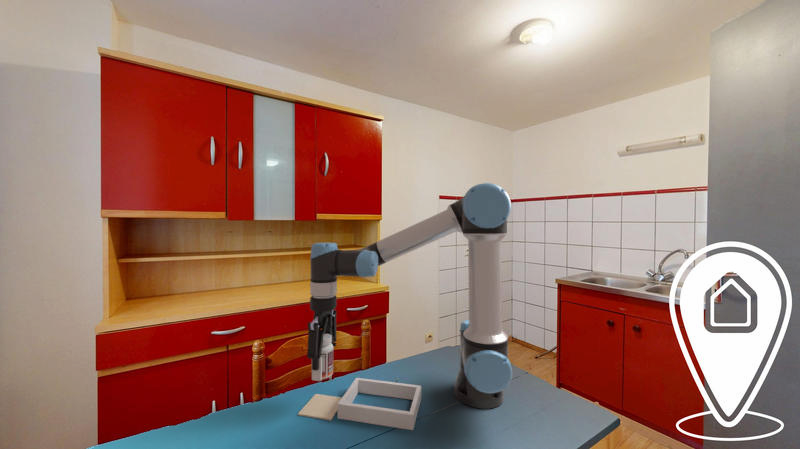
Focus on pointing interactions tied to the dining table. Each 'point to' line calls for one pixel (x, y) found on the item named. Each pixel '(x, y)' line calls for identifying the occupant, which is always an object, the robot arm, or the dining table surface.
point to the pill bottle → (327, 356)
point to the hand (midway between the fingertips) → (322, 373)
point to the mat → (321, 407)
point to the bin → (380, 414)
